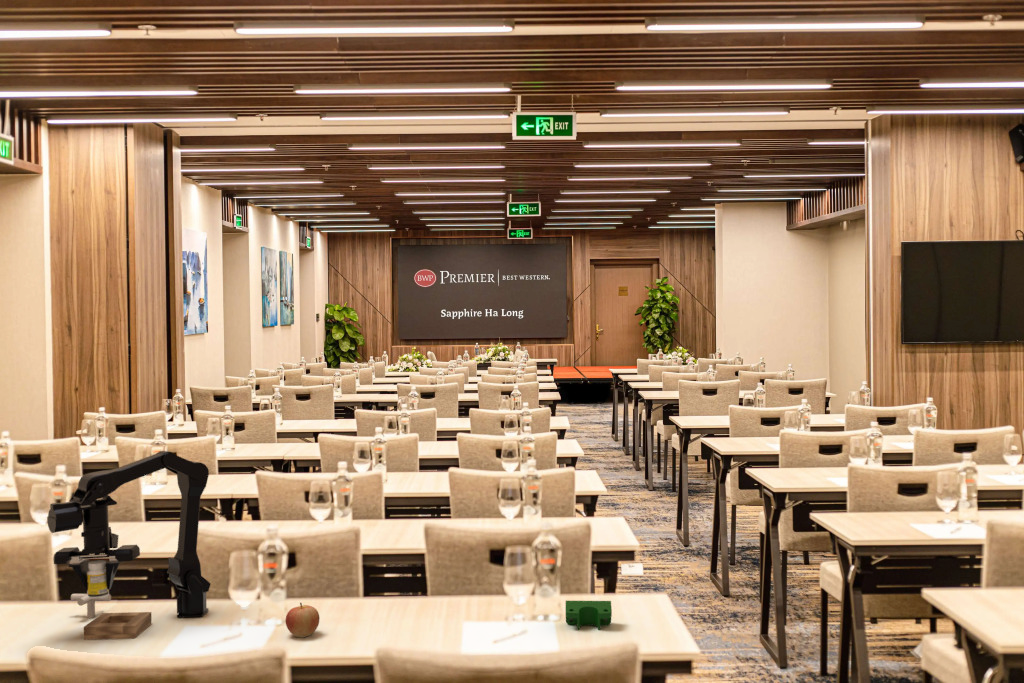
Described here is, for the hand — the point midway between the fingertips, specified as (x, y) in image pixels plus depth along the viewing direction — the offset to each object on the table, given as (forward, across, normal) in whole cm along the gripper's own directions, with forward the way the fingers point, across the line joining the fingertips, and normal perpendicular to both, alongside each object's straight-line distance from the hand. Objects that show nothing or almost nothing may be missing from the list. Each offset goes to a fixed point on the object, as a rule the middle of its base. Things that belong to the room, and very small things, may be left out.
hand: (98, 589), depth 233 cm
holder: (+11, -4, -2) cm, 12 cm away
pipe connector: (+11, +8, -16) cm, 21 cm away
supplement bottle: (+2, 0, 0) cm, 2 cm away
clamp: (+14, -119, +3) cm, 120 cm away
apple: (+12, -50, +5) cm, 51 cm away
